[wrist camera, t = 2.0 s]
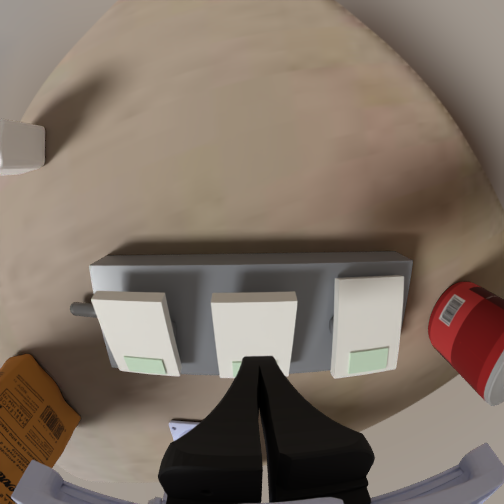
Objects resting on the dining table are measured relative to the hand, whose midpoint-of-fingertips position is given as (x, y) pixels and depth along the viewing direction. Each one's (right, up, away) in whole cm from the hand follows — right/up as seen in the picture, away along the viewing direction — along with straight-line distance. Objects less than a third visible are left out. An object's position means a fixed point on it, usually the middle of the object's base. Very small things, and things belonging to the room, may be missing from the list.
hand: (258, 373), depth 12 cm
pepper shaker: (-20, +15, +7) cm, 26 cm away
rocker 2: (0, 0, +7) cm, 7 cm away
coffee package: (-27, -12, +13) cm, 33 cm away
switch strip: (-2, +1, +11) cm, 11 cm away
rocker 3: (+8, 0, +7) cm, 11 cm away
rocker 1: (-8, 0, +7) cm, 11 cm away
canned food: (+21, -1, +12) cm, 24 cm away
